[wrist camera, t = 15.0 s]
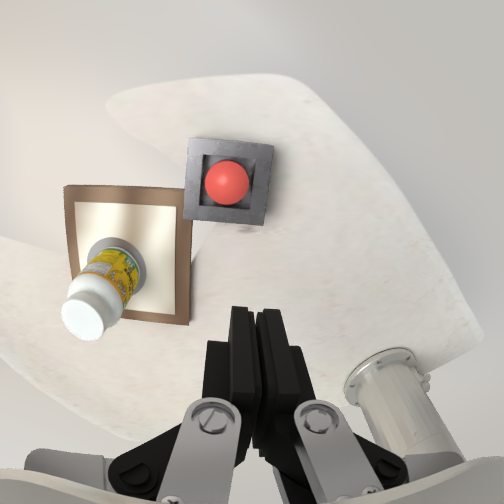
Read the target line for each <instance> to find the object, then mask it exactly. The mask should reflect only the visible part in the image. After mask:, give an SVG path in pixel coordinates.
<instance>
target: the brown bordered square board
mask: <svg viewBox="0 0 504 504" xmlns="http://www.w3.org/2000/svg"><path fill="white" fill-rule="evenodd" d="M63 188H64V209H65V224H66V234H67V245H68V253H69V261H70V268H71V274H72V281H73V280H74V278H75V277H76V276H77V275H78V274H79V273H80V272H81V271H82V270H83V268H84V267H85V266H86V265H87V264H88V263H89V262H90V261H91V260H92V259H93V258H94V257H95V256H96V255H97V254H98V253H99V252H100V251H101V250H103V249H105V248H107V247H119V248H123V249H124V250H126V251H128V252H129V253H130V254H131V255H132V256H133V258H134V259H135V260H136V262H137V263H138V266H139V270H140V279H139V282H138V284H137V286H136V288H135V290H134V292H133V294H132V296H131V298H130V300H129V301H128V304H127V305H126V307H125V310H124V311H123V313H122V315H121V317H120V318H125V319H133V320H141V321H149V322H157V323H167V324H176V325H187V326H189V321H190V274H191V246H192V225H193V220H188V219H183V210H184V193H185V189H179V188H162V187H141V186H114V185H113V186H112V185H67V186H65V187H63Z"/></svg>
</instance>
